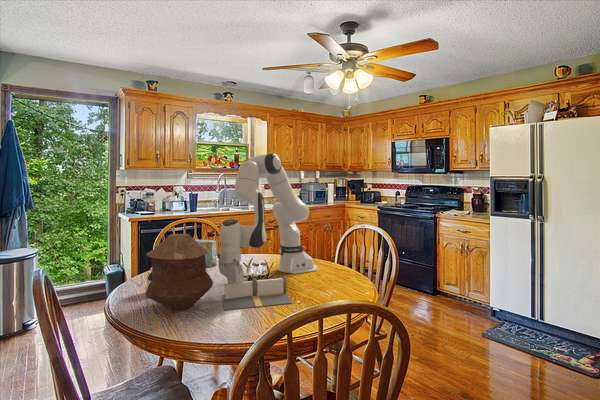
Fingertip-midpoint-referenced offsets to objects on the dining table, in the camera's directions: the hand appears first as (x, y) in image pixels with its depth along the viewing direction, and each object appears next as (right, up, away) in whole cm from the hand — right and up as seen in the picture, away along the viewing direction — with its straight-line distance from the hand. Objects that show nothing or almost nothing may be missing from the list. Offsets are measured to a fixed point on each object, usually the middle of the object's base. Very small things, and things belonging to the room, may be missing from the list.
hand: (231, 288), depth 155 cm
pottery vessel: (-19, -5, -10) cm, 22 cm away
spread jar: (-34, -4, +9) cm, 36 cm away
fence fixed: (+17, -4, +4) cm, 17 cm away
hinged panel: (+3, -4, -1) cm, 5 cm away
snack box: (-30, 0, +56) cm, 64 cm away
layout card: (+11, -5, -2) cm, 12 cm away
